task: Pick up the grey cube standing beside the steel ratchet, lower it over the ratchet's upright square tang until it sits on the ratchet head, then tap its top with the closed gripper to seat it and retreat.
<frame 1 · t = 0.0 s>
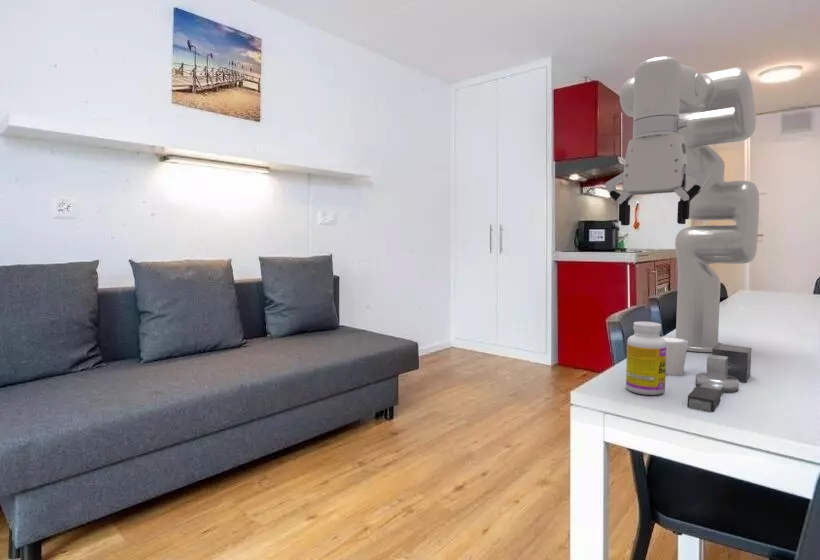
hand: (652, 224, 90), 31 cm above the table, tool pointing down, fingers open, 9 cm apart
grey cube: (730, 376, 100), on the table
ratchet: (716, 387, 93), on the table
white cup: (668, 372, 105), on the table
supplement bottle: (645, 391, 91), on the table
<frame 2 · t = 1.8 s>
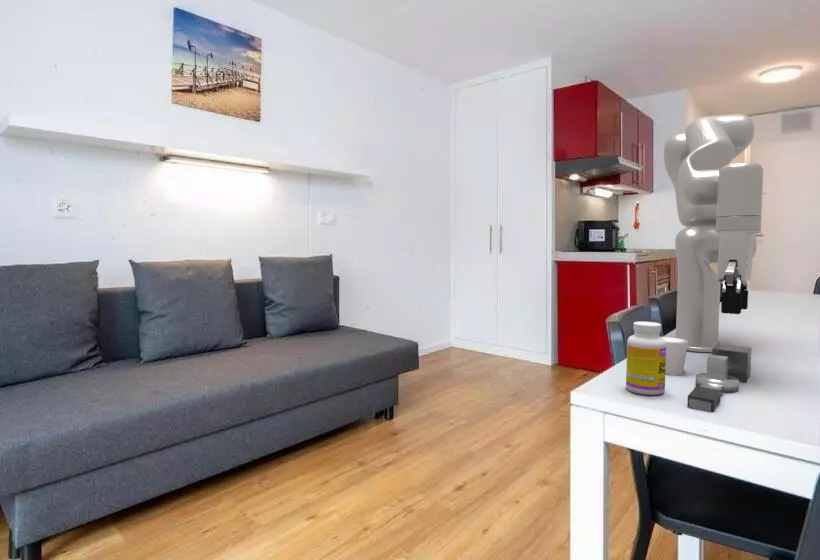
hand: (734, 311, 98), 14 cm above the table, tool pointing down, fingers open, 9 cm apart
nothing on the table moved.
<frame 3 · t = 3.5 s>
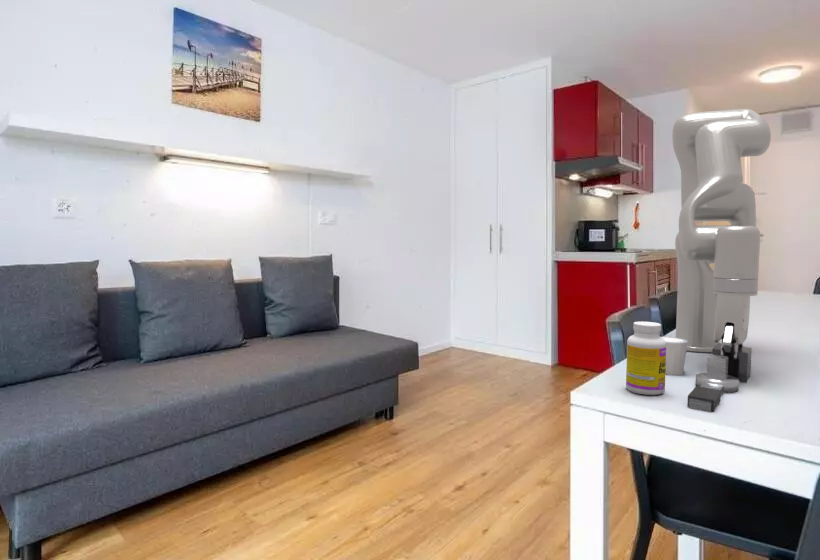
hand: (731, 373, 100), 1 cm above the table, tool pointing down, fingers closed on grey cube, 6 cm apart
grey cube: (730, 376, 100), on the table, touching gripper
everything else where it was.
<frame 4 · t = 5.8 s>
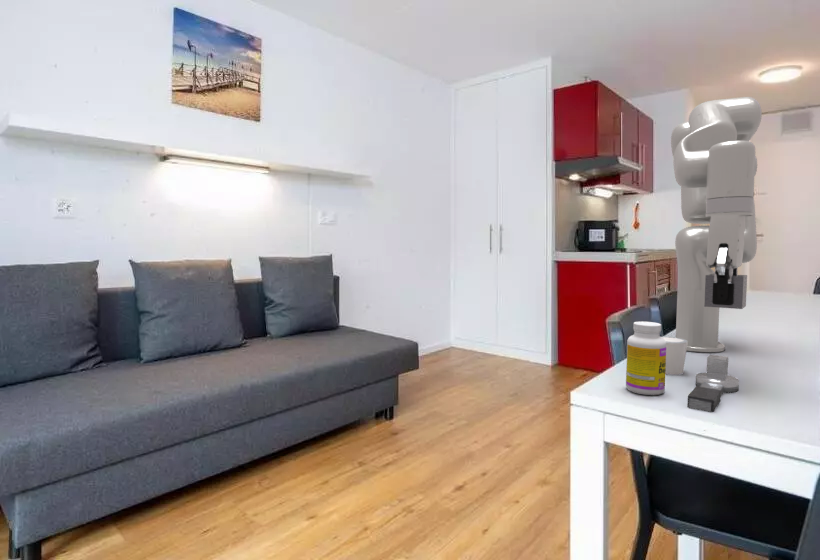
hand: (725, 302, 93), 16 cm above the table, tool pointing down, fingers closed on grey cube, 6 cm apart
grey cube: (725, 306, 93), point 15 cm above the table, touching gripper
everything else where it was.
when the fingers open (3 cm above the table, at t = 8.4 s): grey cube stays where it is, resting on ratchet.
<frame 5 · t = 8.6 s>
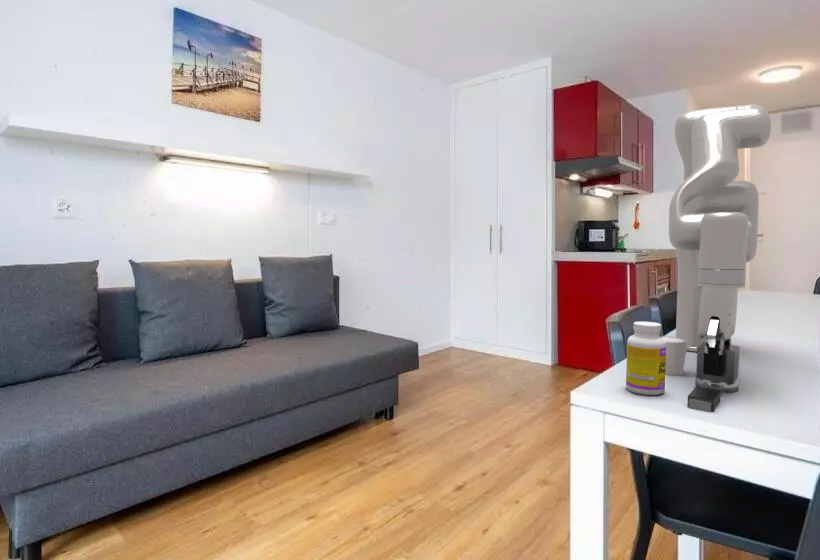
hand: (717, 369, 93), 3 cm above the table, tool pointing down, fingers open, 7 cm apart
grey cube: (717, 377, 93), point 2 cm above the table, touching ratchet
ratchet: (716, 387, 93), on the table, touching grey cube
everything else where it was.
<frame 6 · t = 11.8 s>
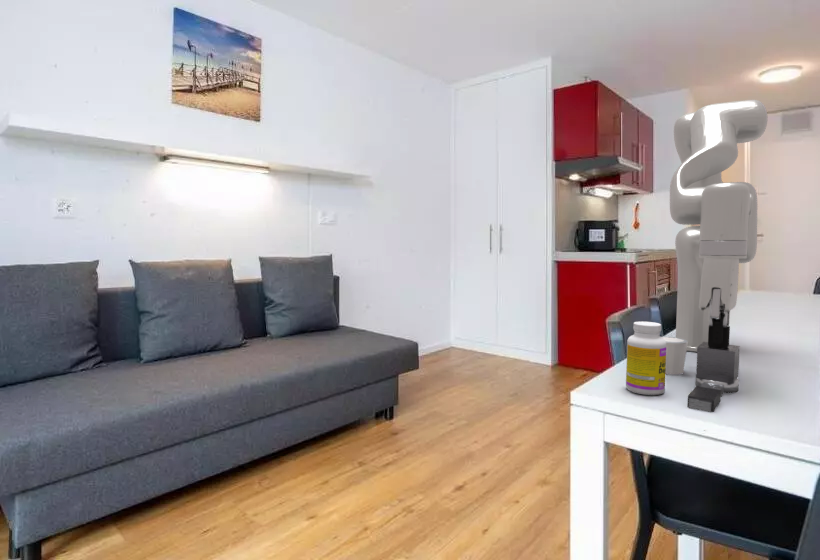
hand: (718, 346, 92), 8 cm above the table, tool pointing down, fingers closed
grey cube: (717, 377, 93), point 2 cm above the table, touching gripper, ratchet
everything else where it was.
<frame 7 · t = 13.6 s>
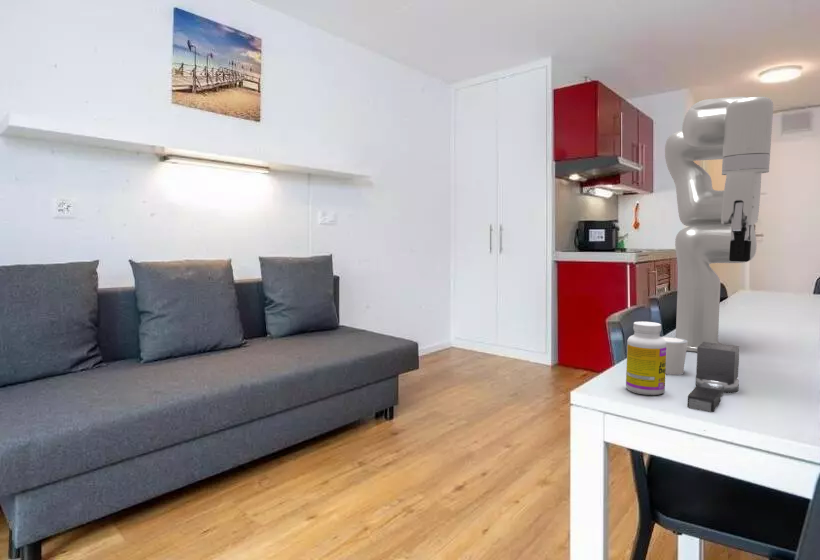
hand: (739, 260, 95), 24 cm above the table, tool pointing down, fingers closed
grey cube: (717, 377, 93), point 2 cm above the table, touching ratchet
everything else where it was.
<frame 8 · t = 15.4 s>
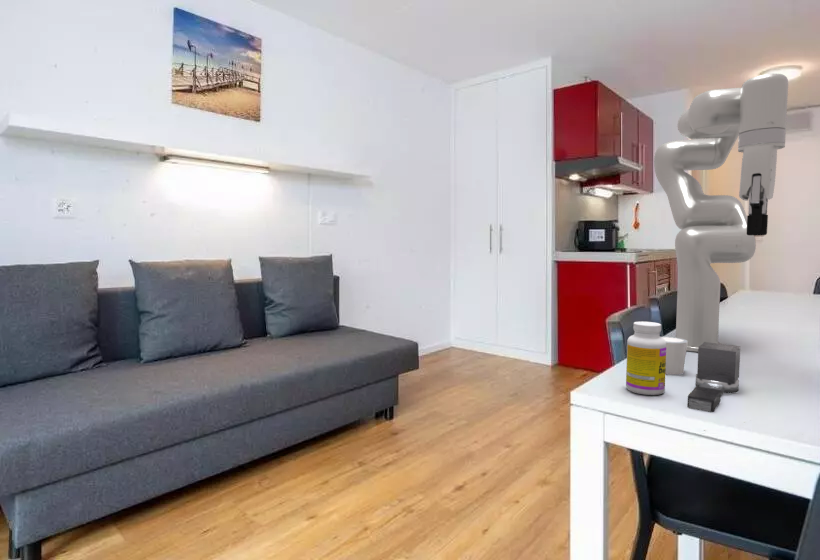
hand: (756, 235, 97), 29 cm above the table, tool pointing down, fingers closed
nothing on the table moved.
at the end: grey cube 0.3 cm off-centre on the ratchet, point 2.0 cm above the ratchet's base; grey cube tilted 0°; the gripper is holding nothing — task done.
